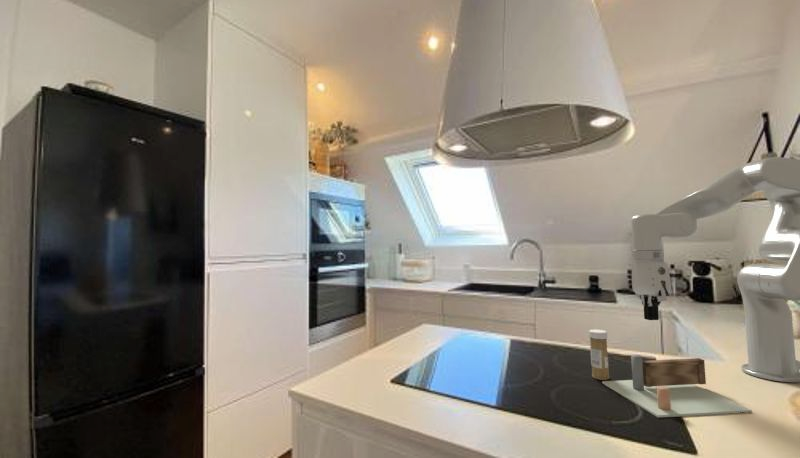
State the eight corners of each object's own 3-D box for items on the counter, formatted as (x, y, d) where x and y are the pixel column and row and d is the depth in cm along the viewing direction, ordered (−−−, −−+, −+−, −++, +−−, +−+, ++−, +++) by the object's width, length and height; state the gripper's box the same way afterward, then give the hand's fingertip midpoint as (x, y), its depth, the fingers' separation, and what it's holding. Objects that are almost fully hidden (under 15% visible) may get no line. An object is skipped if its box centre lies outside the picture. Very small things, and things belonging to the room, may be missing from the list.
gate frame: (678, 379, 100) (675, 347, 100) (752, 412, 80) (748, 371, 80) (602, 383, 99) (600, 350, 99) (657, 417, 79) (655, 376, 79)
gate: (700, 381, 95) (698, 358, 95) (705, 384, 93) (704, 360, 93) (642, 384, 94) (641, 360, 94) (647, 387, 92) (645, 362, 93)
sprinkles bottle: (613, 379, 101) (610, 332, 101) (598, 381, 100) (596, 333, 101) (602, 374, 105) (599, 328, 106) (588, 375, 105) (585, 329, 105)
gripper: (681, 256, 97) (685, 324, 96) (641, 255, 112) (645, 314, 111) (655, 257, 97) (659, 325, 96) (618, 256, 111) (621, 315, 111)
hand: (651, 319), depth 103 cm, fingers closed
